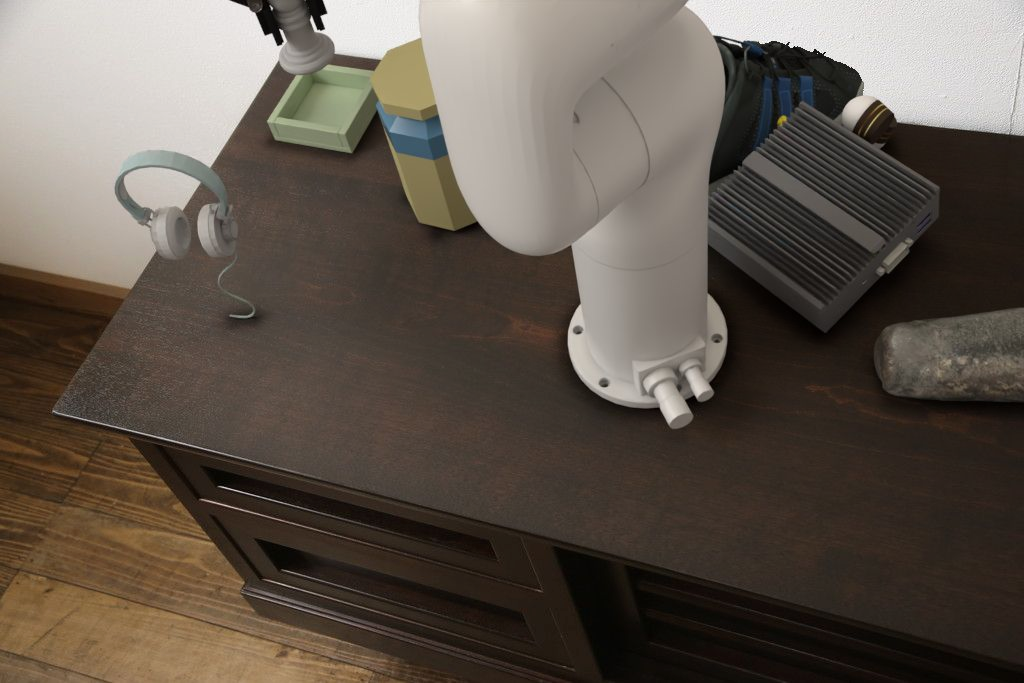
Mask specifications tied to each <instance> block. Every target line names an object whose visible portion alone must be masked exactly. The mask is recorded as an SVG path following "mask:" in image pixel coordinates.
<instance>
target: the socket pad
mask: <svg viewBox="0 0 1024 683" xmlns="http://www.w3.org/2000/svg"><path fill="white" fill-rule="evenodd" d="M374 71H375V70H368V69H362V68H356V67H347V66H340V65H334V64H328V65H327V66H326V67H324V68H323V69H321V70H320V71H318V72H315V73H313V74H309V75H295V76H294V78H293V79H292V81H291V82H290V84H289V85H288V87H287V89H286V90H285V91H284V94H283V95H282V97H281V98H280V100H279V101H278V103H277V105H276V106H275V108H274V109H273V111H272V113H271V114H270V115H269V117H268V119H267V120H266V123H267V126H268V127H269V129H270V131H271V134H272V136H273V138H274V140H275V141H277V142H283V143H290V144H294V145H301V146H308V147H313V148H319V149H324V150H331V151H336V152H341V153H349V154H354V151H355V150H356V148H357V146H358V145H359V143H360V140H362V138H363V135H364V134H365V132H366V131H367V129H368V127H369V125H370V123H371V121H372V119H373V118H374V116H375V115H376V113H377V112H378V110H377V107H376V104H377V103H378V101H379V99H378V97H377V95H376V93H375V91H374V89H373V86H372V83H371V80H370V77H371V75H372V74H373V72H374Z"/></svg>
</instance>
